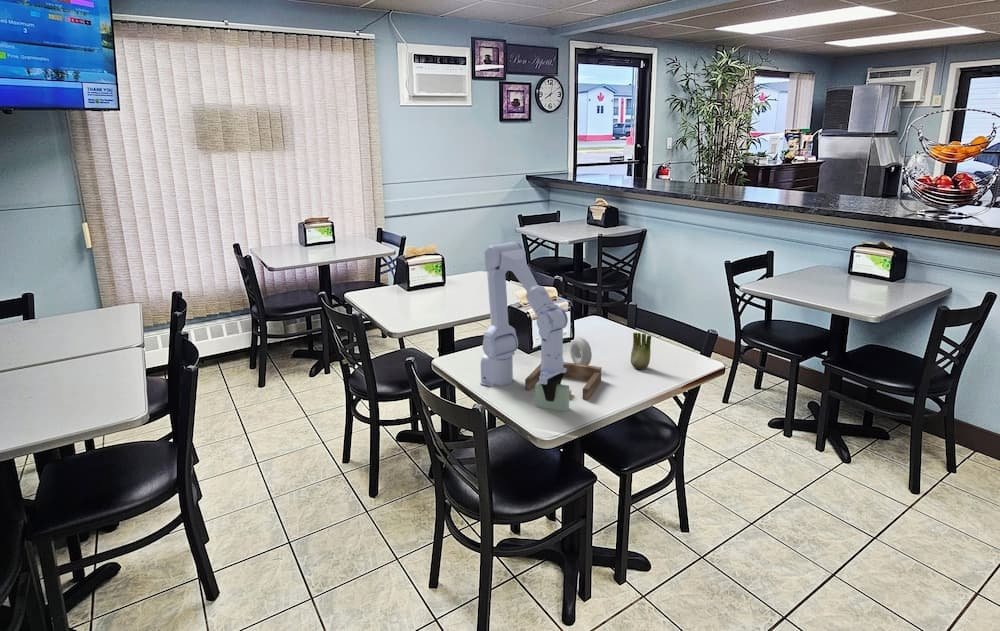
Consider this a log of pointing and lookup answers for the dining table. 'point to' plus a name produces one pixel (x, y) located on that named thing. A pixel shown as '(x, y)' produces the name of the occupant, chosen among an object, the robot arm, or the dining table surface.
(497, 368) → the robot arm
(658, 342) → the dining table surface
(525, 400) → the dining table surface
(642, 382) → the dining table surface
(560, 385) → the board
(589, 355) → the donut
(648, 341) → the fennel bulb
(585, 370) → the frame
